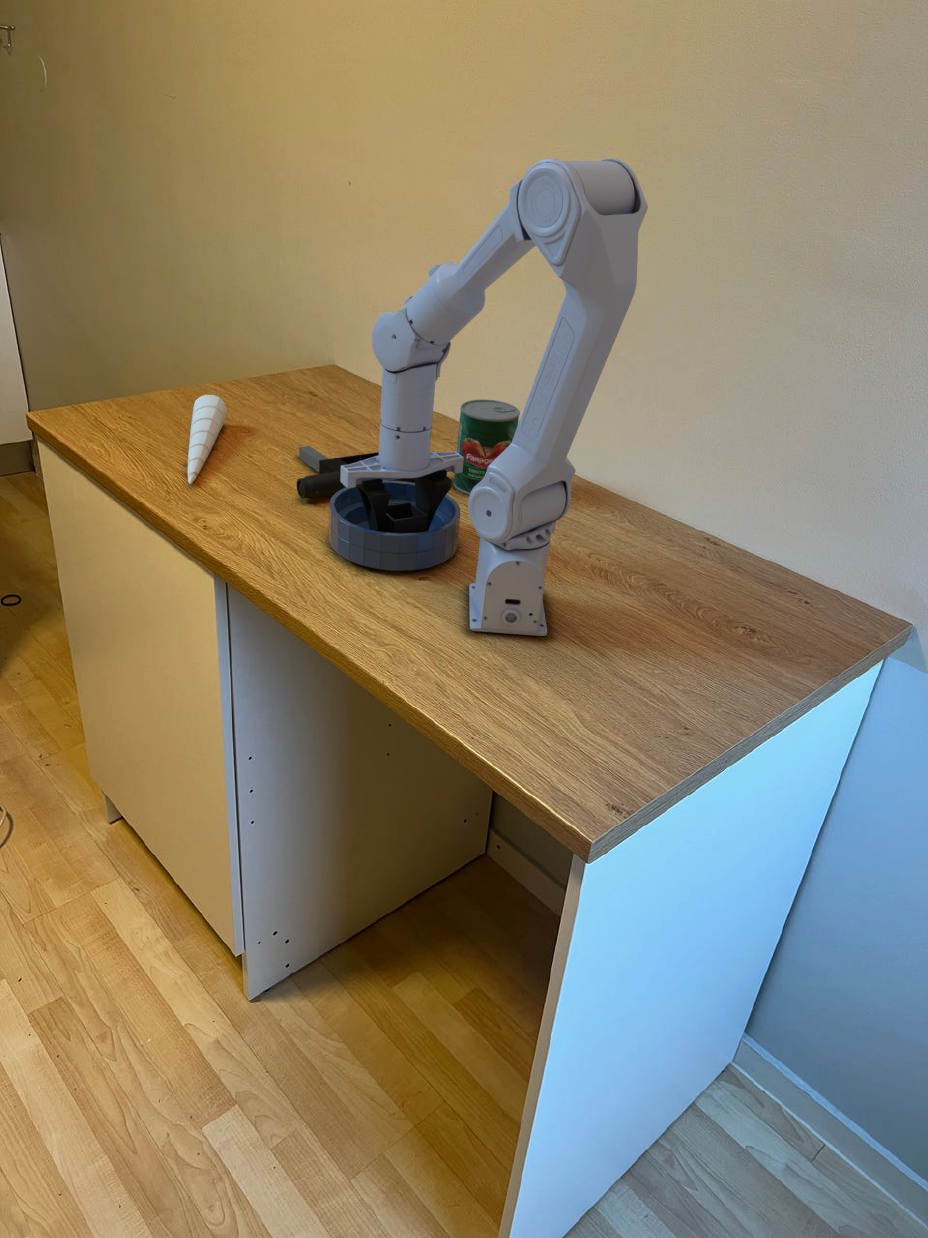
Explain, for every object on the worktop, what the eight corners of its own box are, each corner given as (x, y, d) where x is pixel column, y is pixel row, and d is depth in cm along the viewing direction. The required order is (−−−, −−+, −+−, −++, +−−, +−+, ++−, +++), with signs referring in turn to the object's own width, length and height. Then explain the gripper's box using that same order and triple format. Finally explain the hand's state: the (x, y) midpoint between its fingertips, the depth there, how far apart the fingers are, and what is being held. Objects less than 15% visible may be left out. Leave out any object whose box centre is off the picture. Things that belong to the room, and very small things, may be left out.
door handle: (259, 446, 127) (308, 484, 116) (388, 430, 137) (445, 463, 126) (260, 470, 129) (308, 509, 117) (387, 452, 139) (444, 487, 127)
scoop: (425, 551, 109) (427, 515, 107) (391, 557, 107) (393, 521, 105) (394, 523, 115) (396, 488, 112) (361, 528, 113) (363, 493, 110)
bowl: (456, 580, 105) (460, 540, 102) (321, 569, 104) (321, 529, 102) (457, 522, 118) (460, 485, 115) (336, 512, 117) (337, 475, 115)
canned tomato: (467, 500, 124) (475, 420, 119) (444, 477, 130) (450, 400, 125) (520, 494, 127) (530, 417, 122) (495, 472, 133) (503, 397, 128)
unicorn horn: (159, 485, 119) (157, 450, 117) (196, 423, 140) (194, 391, 137) (197, 488, 120) (195, 452, 117) (228, 425, 140) (227, 394, 138)
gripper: (446, 406, 108) (437, 512, 115) (330, 417, 102) (328, 529, 109) (476, 426, 103) (465, 536, 110) (357, 439, 96) (353, 556, 103)
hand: (399, 535), depth 109 cm, fingers open, 5 cm apart
